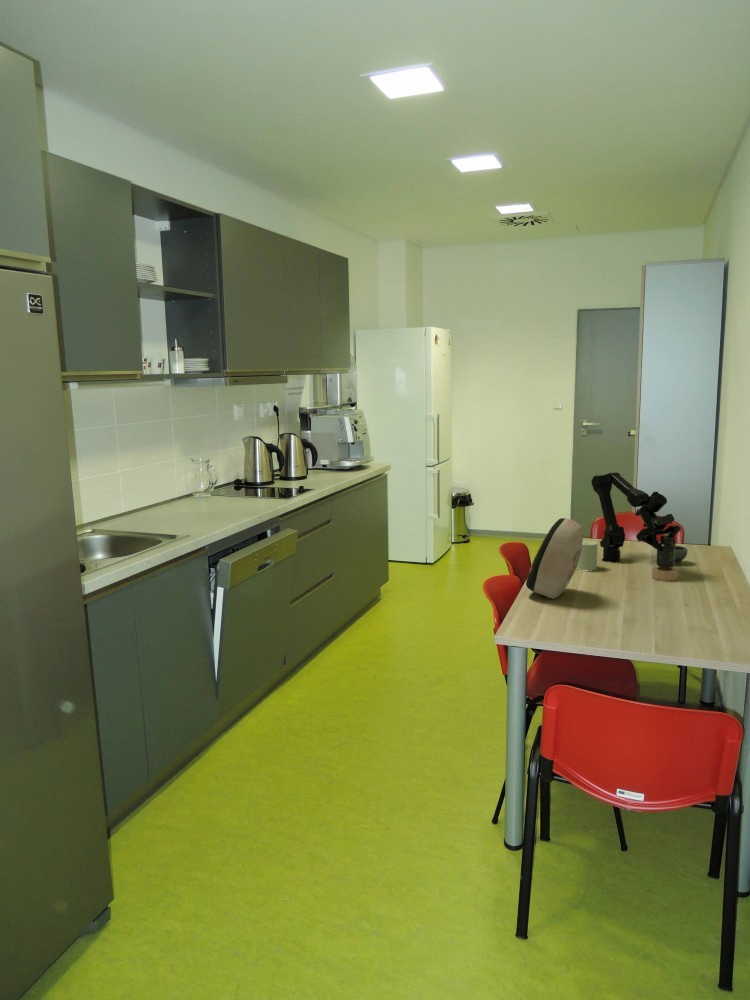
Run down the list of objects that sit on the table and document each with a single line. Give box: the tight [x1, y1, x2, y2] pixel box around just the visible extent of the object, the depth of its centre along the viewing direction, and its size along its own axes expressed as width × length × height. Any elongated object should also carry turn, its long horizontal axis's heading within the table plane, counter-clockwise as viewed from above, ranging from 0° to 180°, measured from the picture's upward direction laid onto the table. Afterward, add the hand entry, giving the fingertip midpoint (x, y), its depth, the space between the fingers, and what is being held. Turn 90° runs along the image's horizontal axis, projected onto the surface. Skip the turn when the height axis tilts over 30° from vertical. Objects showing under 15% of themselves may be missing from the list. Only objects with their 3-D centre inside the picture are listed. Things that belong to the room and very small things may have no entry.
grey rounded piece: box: [525, 517, 584, 600], centre depth 272 cm, size 22×20×30 cm
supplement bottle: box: [656, 535, 675, 568], centre depth 292 cm, size 7×7×12 cm
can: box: [576, 539, 599, 572], centre depth 310 cm, size 9×9×12 cm
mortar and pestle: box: [674, 545, 688, 566], centre depth 317 cm, size 11×9×12 cm
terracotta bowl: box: [651, 565, 680, 582], centre depth 294 cm, size 10×10×4 cm
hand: (668, 550), depth 291 cm, fingers closed on supplement bottle, 7 cm apart
